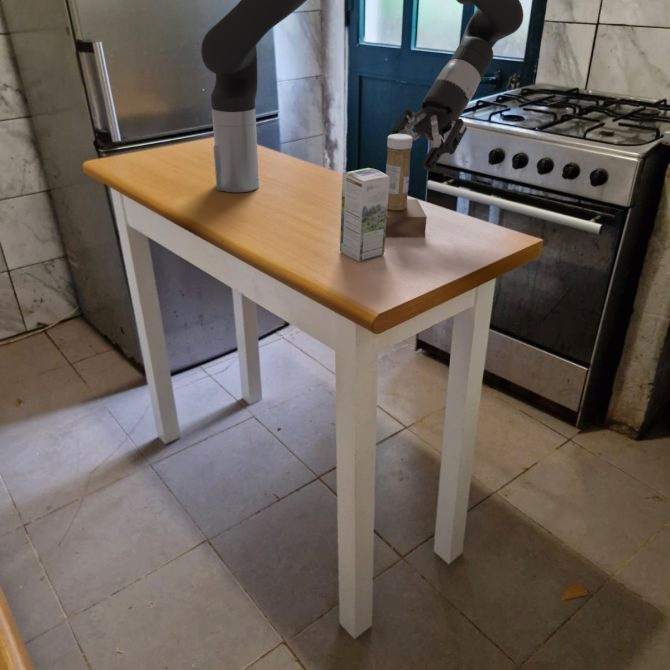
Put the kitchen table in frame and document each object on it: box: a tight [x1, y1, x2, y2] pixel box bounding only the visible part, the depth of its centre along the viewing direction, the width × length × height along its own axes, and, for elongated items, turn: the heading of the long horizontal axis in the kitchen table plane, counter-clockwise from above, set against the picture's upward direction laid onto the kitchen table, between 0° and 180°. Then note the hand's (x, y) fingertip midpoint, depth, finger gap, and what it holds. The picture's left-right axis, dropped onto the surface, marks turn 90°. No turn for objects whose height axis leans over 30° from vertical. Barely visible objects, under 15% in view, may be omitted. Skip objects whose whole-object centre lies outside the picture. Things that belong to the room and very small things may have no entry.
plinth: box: [385, 198, 428, 238], centre depth 121 cm, size 10×10×4 cm
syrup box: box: [339, 167, 390, 263], centre depth 107 cm, size 6×6×14 cm
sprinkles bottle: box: [385, 134, 413, 211], centre depth 117 cm, size 5×5×13 cm
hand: (407, 163), depth 117 cm, fingers open, 8 cm apart
